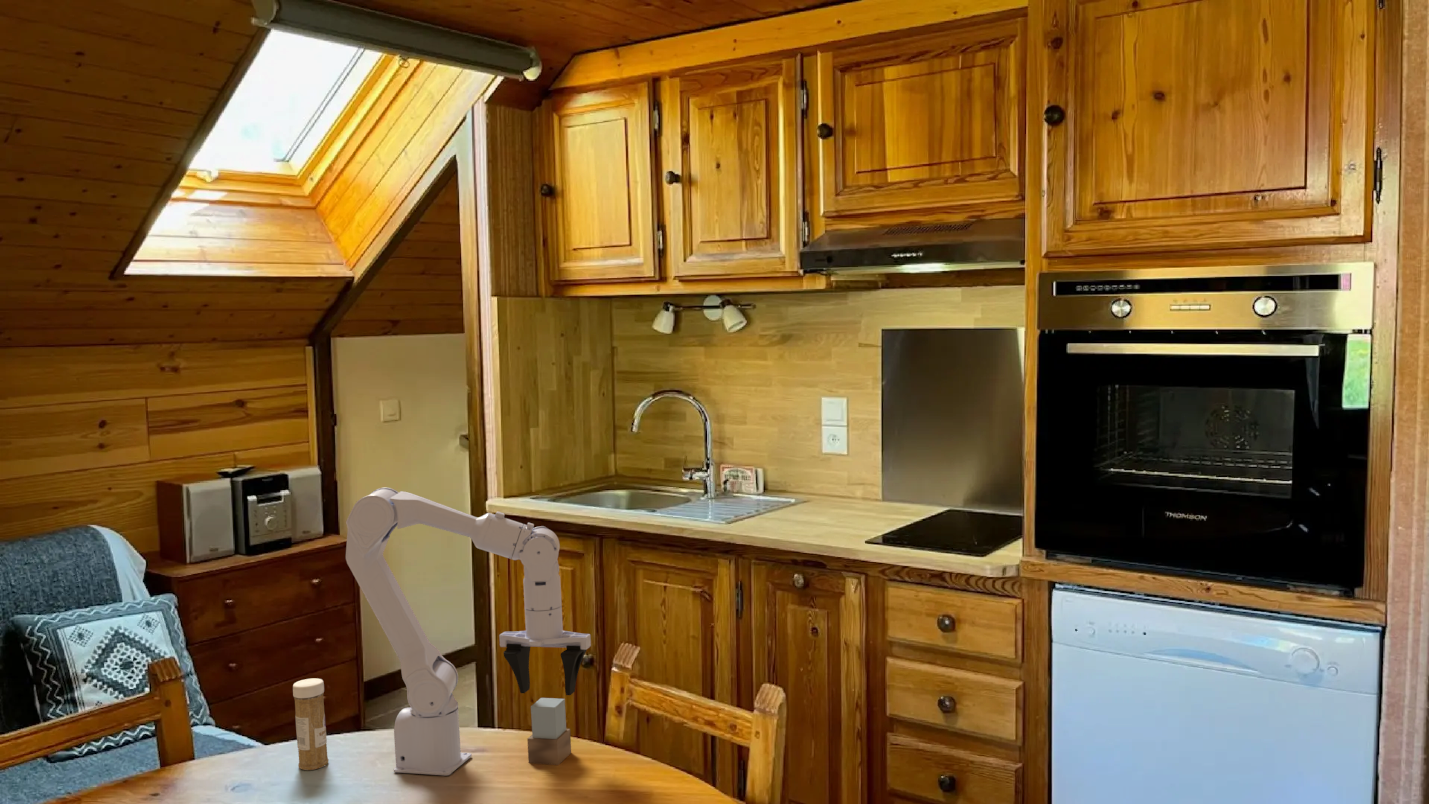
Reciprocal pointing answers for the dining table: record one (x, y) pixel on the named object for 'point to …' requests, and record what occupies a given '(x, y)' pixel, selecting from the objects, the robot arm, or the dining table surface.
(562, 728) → the slate block
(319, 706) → the sprinkles bottle
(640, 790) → the dining table surface
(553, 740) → the walnut block
